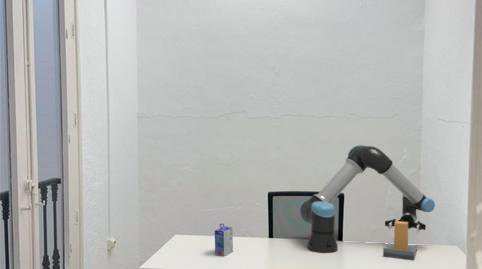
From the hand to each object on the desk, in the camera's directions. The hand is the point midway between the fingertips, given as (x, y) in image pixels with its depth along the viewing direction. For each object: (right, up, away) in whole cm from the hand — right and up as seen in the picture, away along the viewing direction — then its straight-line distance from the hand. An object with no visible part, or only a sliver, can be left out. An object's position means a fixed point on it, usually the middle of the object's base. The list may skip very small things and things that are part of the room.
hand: (403, 228), depth 236 cm
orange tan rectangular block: (-3, -9, -4) cm, 11 cm away
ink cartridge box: (-92, -10, -11) cm, 93 cm away
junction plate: (-4, -11, -6) cm, 13 cm away
